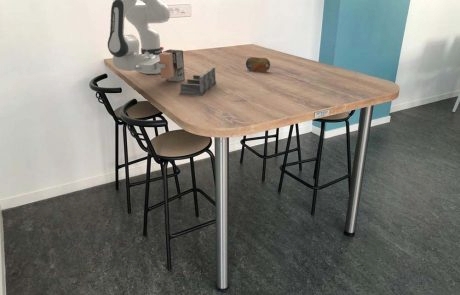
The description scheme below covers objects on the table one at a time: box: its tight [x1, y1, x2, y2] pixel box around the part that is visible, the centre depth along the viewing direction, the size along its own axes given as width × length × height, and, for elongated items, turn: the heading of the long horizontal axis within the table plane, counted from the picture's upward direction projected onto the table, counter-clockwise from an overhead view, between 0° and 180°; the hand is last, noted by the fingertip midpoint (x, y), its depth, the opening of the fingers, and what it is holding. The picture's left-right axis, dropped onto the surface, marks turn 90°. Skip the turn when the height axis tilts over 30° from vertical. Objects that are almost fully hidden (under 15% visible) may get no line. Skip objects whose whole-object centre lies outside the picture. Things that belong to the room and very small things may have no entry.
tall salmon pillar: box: [159, 51, 174, 79], centre depth 187 cm, size 4×5×12 cm
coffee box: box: [162, 49, 186, 82], centre depth 205 cm, size 9×6×16 cm
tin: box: [245, 56, 271, 73], centre depth 223 cm, size 15×3×8 cm, turn 62°
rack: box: [179, 66, 217, 96], centre depth 190 cm, size 21×12×9 cm, turn 164°
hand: (168, 64), depth 187 cm, fingers closed on tall salmon pillar, 4 cm apart
